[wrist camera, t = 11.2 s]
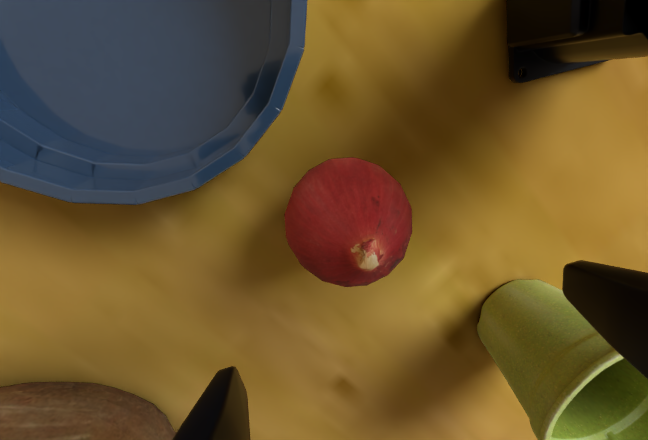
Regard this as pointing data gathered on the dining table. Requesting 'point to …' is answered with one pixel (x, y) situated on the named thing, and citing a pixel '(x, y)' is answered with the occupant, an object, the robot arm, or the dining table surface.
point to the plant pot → (562, 366)
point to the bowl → (139, 92)
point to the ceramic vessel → (78, 413)
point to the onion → (348, 222)
